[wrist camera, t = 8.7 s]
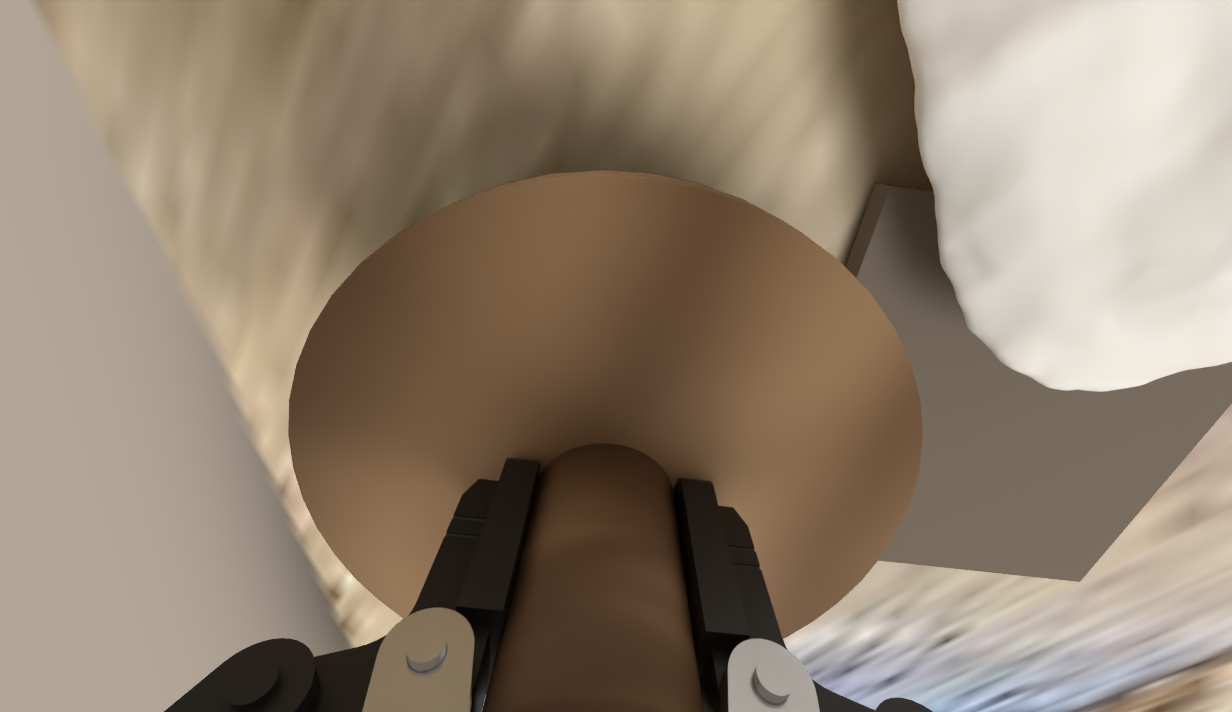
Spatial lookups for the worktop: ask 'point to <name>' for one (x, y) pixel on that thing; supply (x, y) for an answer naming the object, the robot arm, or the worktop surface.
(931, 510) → the plate
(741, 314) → the lid
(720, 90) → the worktop surface
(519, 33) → the worktop surface
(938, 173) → the crumpled cloth
